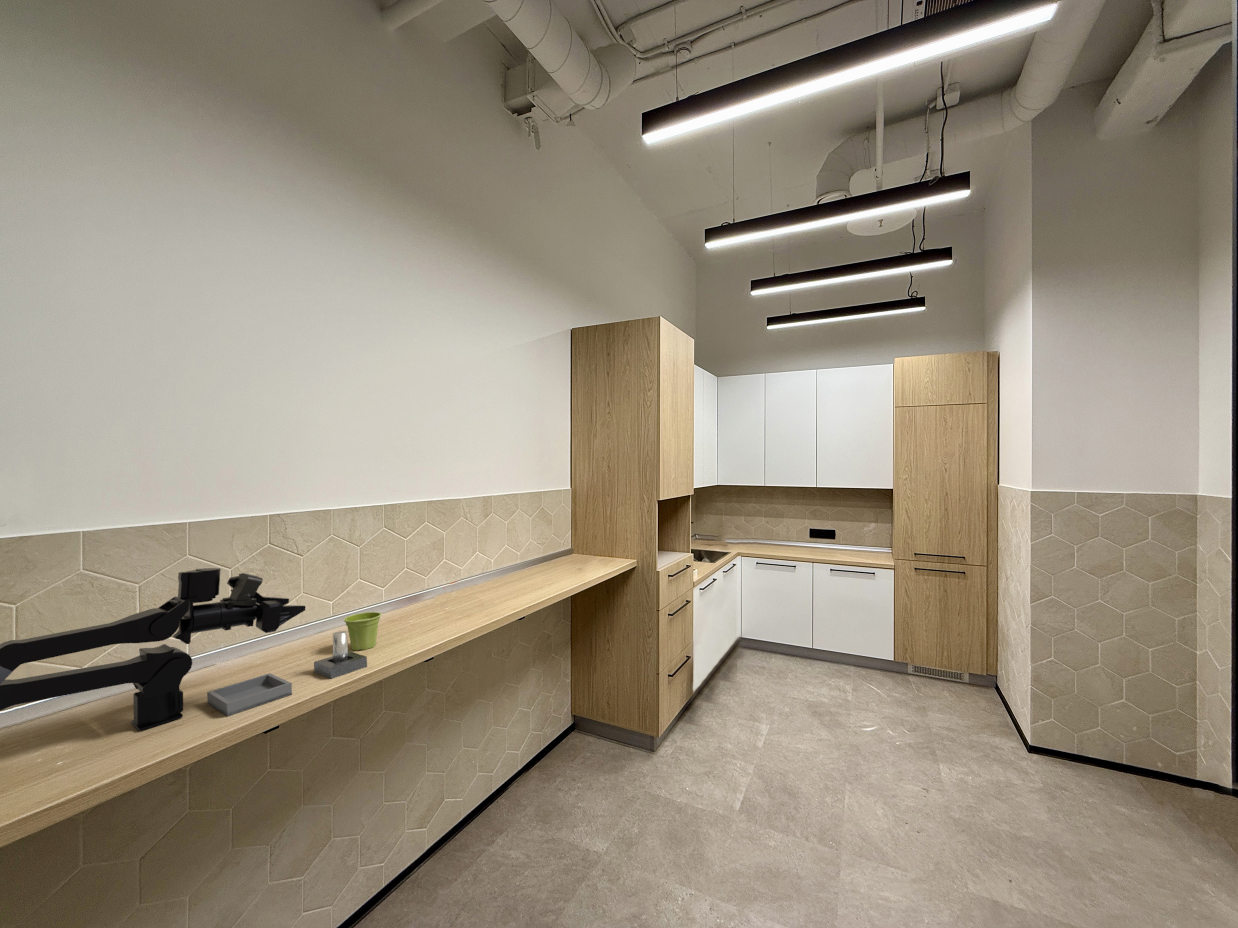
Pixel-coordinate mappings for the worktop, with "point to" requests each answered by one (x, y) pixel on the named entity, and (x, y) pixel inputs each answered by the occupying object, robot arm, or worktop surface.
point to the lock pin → (340, 647)
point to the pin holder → (340, 665)
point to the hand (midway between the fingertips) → (296, 604)
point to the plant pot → (363, 629)
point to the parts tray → (248, 694)
